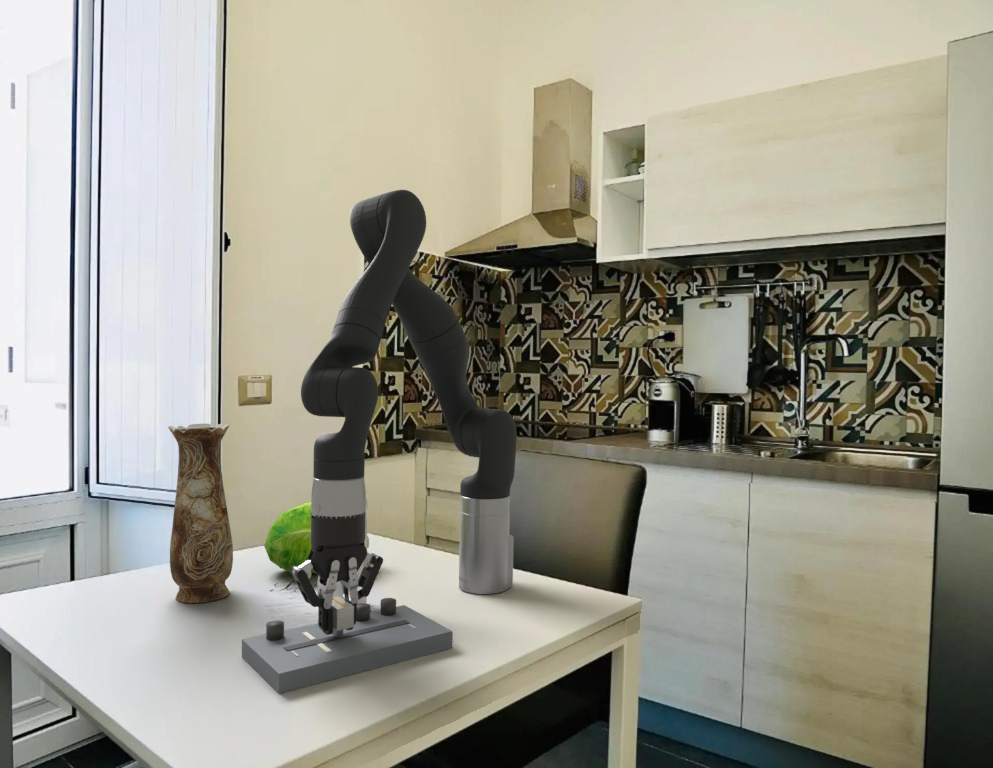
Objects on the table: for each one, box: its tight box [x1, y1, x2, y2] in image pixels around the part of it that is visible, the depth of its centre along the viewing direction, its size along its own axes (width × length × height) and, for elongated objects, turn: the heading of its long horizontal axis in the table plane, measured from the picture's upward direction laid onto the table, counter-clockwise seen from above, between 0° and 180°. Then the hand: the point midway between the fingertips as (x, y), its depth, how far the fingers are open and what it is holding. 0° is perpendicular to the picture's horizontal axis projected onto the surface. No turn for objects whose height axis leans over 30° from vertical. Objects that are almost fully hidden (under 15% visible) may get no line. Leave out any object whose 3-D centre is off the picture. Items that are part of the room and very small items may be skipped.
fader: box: [331, 597, 354, 637], centre depth 104 cm, size 2×5×5 cm, turn 37°
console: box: [241, 597, 454, 694], centre depth 106 cm, size 26×14×4 cm, turn 127°
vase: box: [167, 423, 234, 604], centre depth 129 cm, size 10×11×30 cm
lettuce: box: [263, 501, 370, 574], centre depth 146 cm, size 15×20×14 cm
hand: (337, 630), depth 104 cm, fingers closed on fader, 2 cm apart
